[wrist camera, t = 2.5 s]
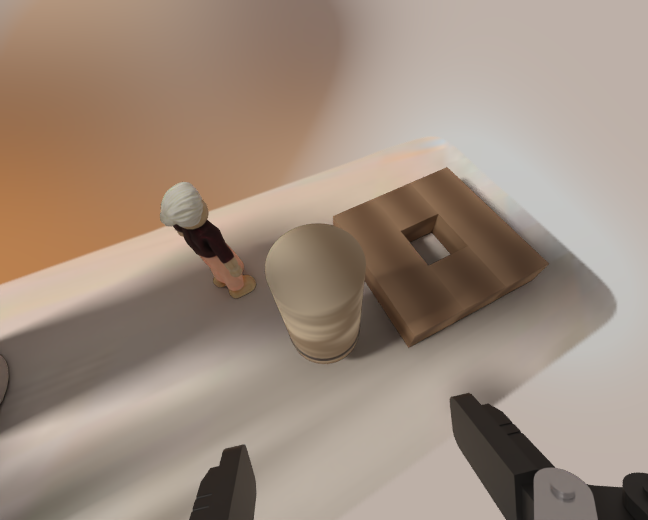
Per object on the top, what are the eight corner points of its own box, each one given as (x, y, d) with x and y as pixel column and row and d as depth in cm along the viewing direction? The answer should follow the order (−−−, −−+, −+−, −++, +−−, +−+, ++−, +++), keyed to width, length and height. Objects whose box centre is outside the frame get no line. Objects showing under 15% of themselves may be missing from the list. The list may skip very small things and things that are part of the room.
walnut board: (408, 347, 28) (414, 336, 26) (333, 234, 35) (333, 216, 32) (532, 280, 31) (549, 263, 28) (440, 187, 38) (447, 167, 35)
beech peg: (311, 384, 27) (288, 330, 16) (284, 326, 30) (249, 246, 19) (370, 352, 28) (386, 282, 17) (339, 299, 31) (336, 209, 20)
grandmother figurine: (272, 277, 33) (236, 186, 22) (251, 309, 31) (201, 228, 20) (212, 251, 35) (152, 157, 24) (189, 279, 33) (113, 192, 22)
